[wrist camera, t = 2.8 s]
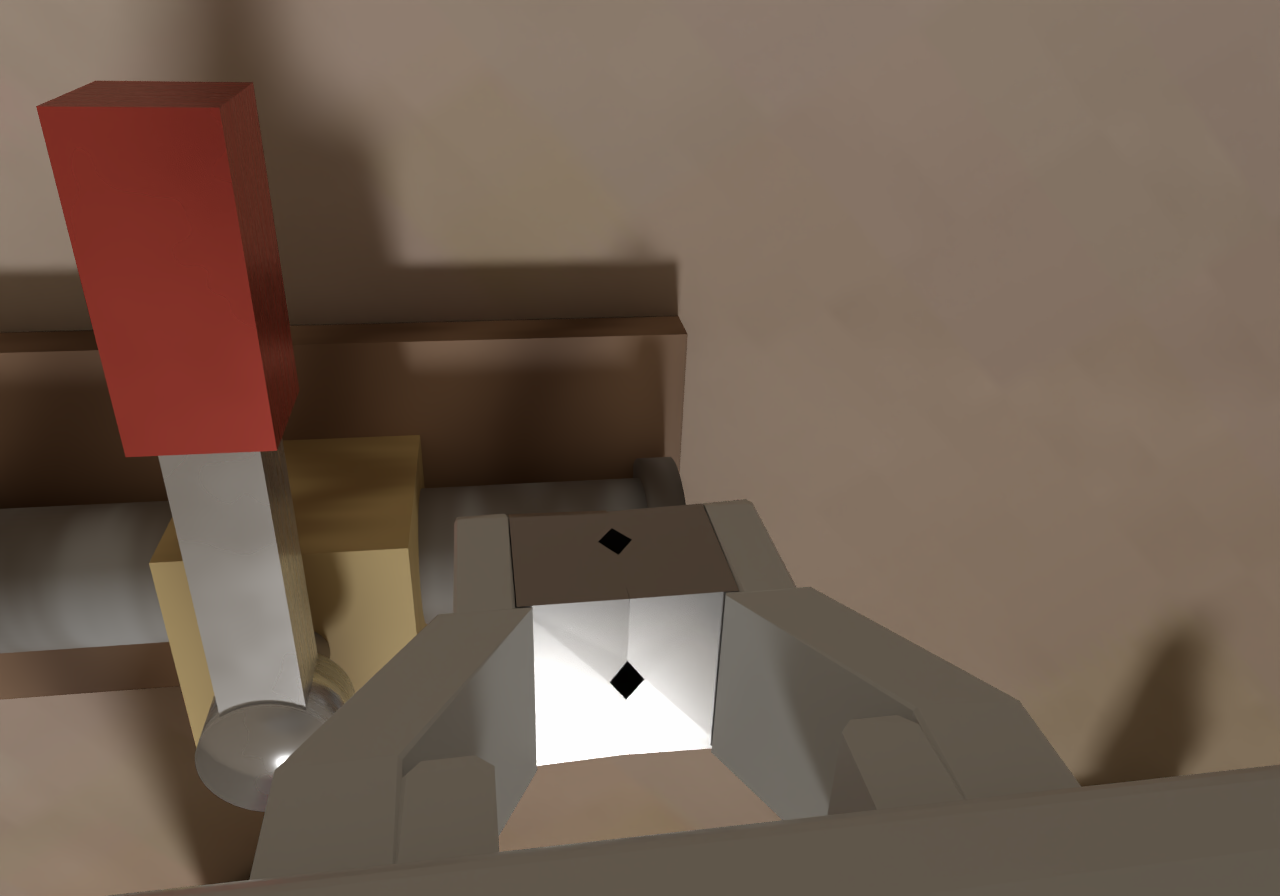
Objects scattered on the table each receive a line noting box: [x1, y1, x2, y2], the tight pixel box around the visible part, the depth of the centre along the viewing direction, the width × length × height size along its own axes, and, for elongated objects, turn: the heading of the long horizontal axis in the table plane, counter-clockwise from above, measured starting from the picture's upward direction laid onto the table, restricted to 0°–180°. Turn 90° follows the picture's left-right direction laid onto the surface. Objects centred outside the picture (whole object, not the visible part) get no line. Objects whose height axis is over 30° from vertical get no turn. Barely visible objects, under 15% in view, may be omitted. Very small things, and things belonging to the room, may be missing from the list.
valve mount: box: [0, 316, 687, 748], centre depth 27 cm, size 22×12×9 cm, turn 88°
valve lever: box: [36, 81, 355, 812], centre depth 20 cm, size 16×3×3 cm, turn 178°
